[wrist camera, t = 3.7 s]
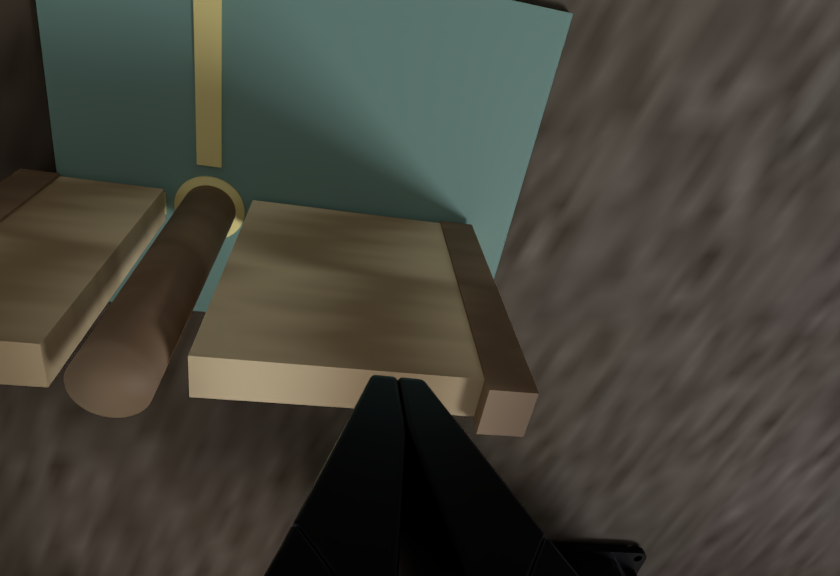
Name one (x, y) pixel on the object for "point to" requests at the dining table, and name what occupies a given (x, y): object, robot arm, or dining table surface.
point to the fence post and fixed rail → (100, 283)
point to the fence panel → (360, 316)
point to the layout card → (305, 103)
